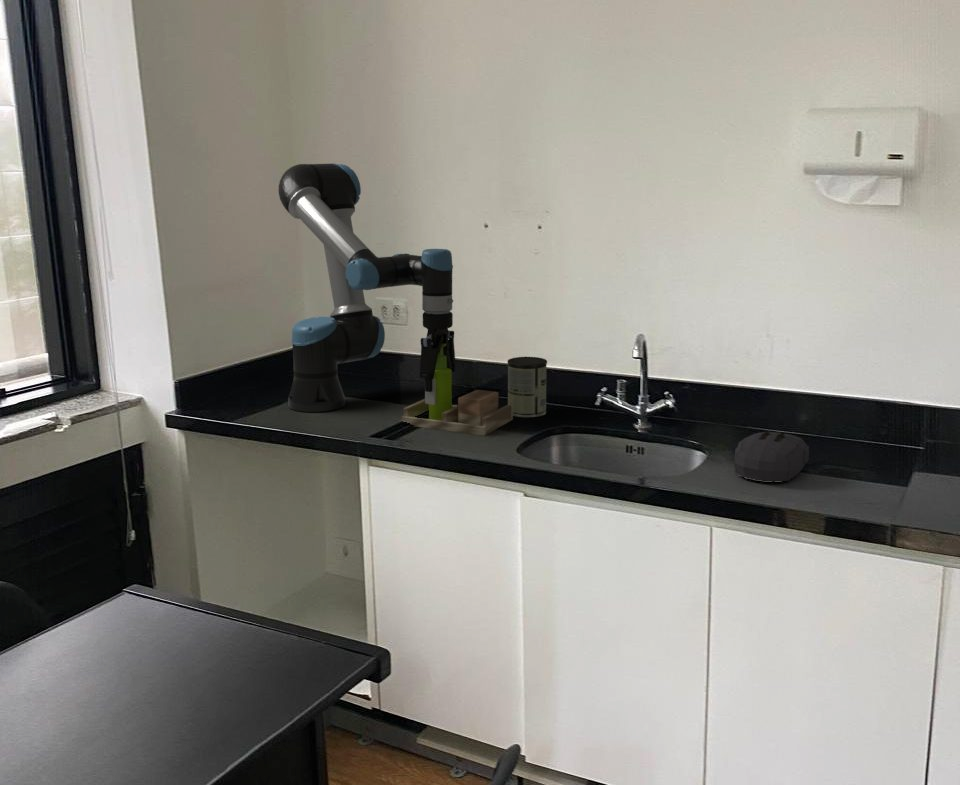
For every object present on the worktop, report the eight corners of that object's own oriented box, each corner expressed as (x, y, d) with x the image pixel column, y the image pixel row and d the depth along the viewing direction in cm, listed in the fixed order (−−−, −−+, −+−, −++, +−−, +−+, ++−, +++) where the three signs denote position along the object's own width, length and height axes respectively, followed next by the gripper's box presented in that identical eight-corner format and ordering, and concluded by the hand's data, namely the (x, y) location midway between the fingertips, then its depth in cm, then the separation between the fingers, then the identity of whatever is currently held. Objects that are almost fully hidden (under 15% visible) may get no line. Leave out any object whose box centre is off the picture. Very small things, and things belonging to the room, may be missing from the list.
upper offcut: (458, 413, 252) (458, 397, 251) (477, 404, 260) (477, 389, 259) (479, 416, 249) (479, 400, 248) (498, 407, 258) (498, 392, 257)
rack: (401, 424, 256) (401, 409, 255) (433, 409, 270) (433, 395, 269) (484, 435, 246) (484, 419, 245) (512, 419, 260) (512, 404, 259)
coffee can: (508, 407, 273) (508, 356, 270) (546, 408, 272) (547, 356, 269) (505, 417, 263) (506, 363, 260) (545, 418, 262) (546, 364, 259)
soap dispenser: (429, 415, 264) (429, 340, 259) (455, 417, 262) (454, 341, 257) (421, 421, 259) (420, 344, 254) (447, 423, 257) (446, 345, 252)
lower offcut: (458, 429, 252) (458, 413, 251) (475, 420, 261) (475, 404, 260) (480, 432, 250) (480, 416, 249) (497, 422, 259) (497, 407, 258)
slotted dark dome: (745, 455, 230) (721, 480, 213) (748, 420, 228) (723, 442, 211) (814, 465, 223) (794, 491, 206) (817, 429, 221) (797, 452, 204)
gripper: (431, 318, 243) (432, 410, 249) (469, 307, 261) (469, 393, 267) (403, 316, 247) (405, 407, 252) (443, 305, 264) (444, 390, 270)
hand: (438, 400), depth 259 cm, fingers open, 8 cm apart
